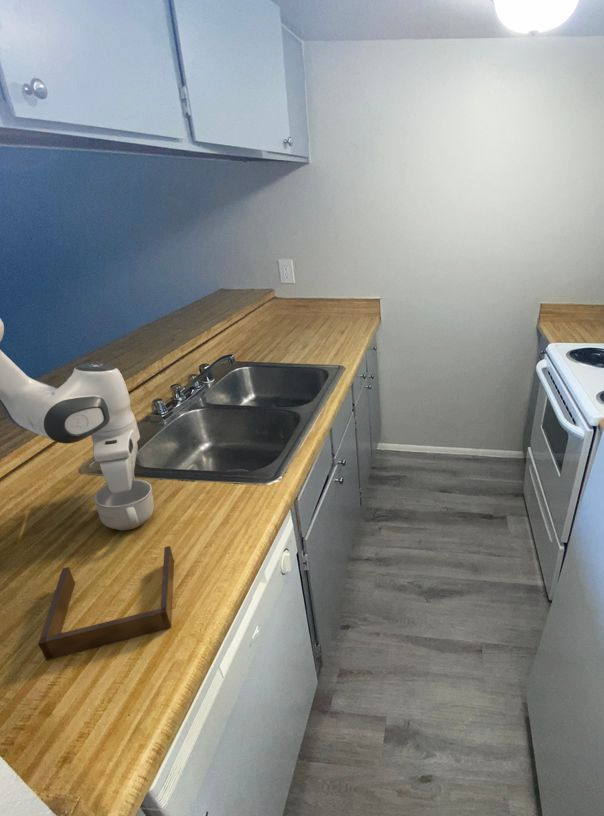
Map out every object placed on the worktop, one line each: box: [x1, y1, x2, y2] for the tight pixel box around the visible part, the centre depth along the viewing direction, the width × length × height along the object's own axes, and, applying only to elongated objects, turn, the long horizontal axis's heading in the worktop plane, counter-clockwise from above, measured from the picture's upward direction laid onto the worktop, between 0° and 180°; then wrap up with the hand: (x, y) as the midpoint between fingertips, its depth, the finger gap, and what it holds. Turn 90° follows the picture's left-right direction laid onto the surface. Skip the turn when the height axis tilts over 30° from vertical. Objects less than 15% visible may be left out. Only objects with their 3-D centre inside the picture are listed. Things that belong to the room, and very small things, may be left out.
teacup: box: [93, 479, 155, 531], centre depth 102 cm, size 14×11×8 cm
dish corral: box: [37, 545, 175, 661], centre depth 84 cm, size 18×17×4 cm
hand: (131, 486), depth 109 cm, fingers closed
